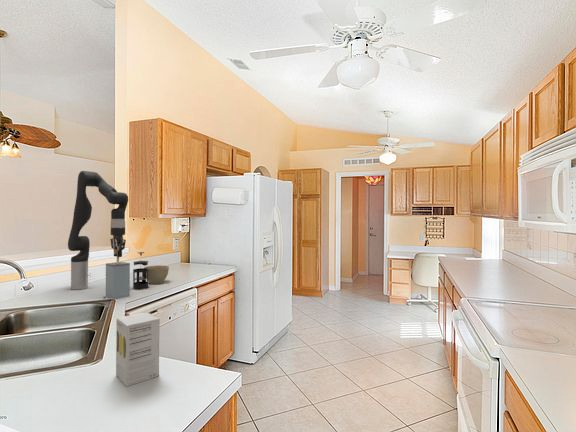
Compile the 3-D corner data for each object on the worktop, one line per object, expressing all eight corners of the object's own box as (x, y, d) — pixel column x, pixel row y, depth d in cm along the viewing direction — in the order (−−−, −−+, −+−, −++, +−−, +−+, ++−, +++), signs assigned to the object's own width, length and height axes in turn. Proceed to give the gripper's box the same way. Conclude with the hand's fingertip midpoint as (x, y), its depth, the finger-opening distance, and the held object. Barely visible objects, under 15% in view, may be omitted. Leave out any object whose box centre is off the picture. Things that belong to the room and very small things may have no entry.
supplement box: (115, 375, 95) (115, 317, 95) (147, 365, 101) (147, 311, 101) (126, 387, 88) (126, 325, 88) (160, 375, 95) (160, 318, 95)
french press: (144, 289, 204) (145, 253, 204) (129, 289, 204) (129, 253, 204) (151, 285, 216) (152, 251, 216) (137, 285, 215) (137, 251, 215)
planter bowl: (148, 286, 214) (148, 269, 215) (140, 282, 227) (140, 266, 227) (172, 283, 225) (172, 267, 225) (164, 279, 237) (164, 264, 237)
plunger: (109, 291, 186) (110, 249, 187) (120, 289, 191) (120, 248, 191) (114, 292, 183) (115, 249, 183) (125, 290, 188) (125, 249, 188)
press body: (105, 296, 186) (105, 263, 186) (121, 293, 194) (122, 261, 194) (113, 299, 181) (113, 265, 181) (129, 296, 188) (129, 263, 188)
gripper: (105, 226, 188) (105, 256, 188) (117, 227, 180) (117, 258, 180) (118, 226, 194) (118, 255, 194) (130, 227, 186) (130, 256, 186)
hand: (117, 256), depth 187 cm, fingers closed on plunger, 4 cm apart
